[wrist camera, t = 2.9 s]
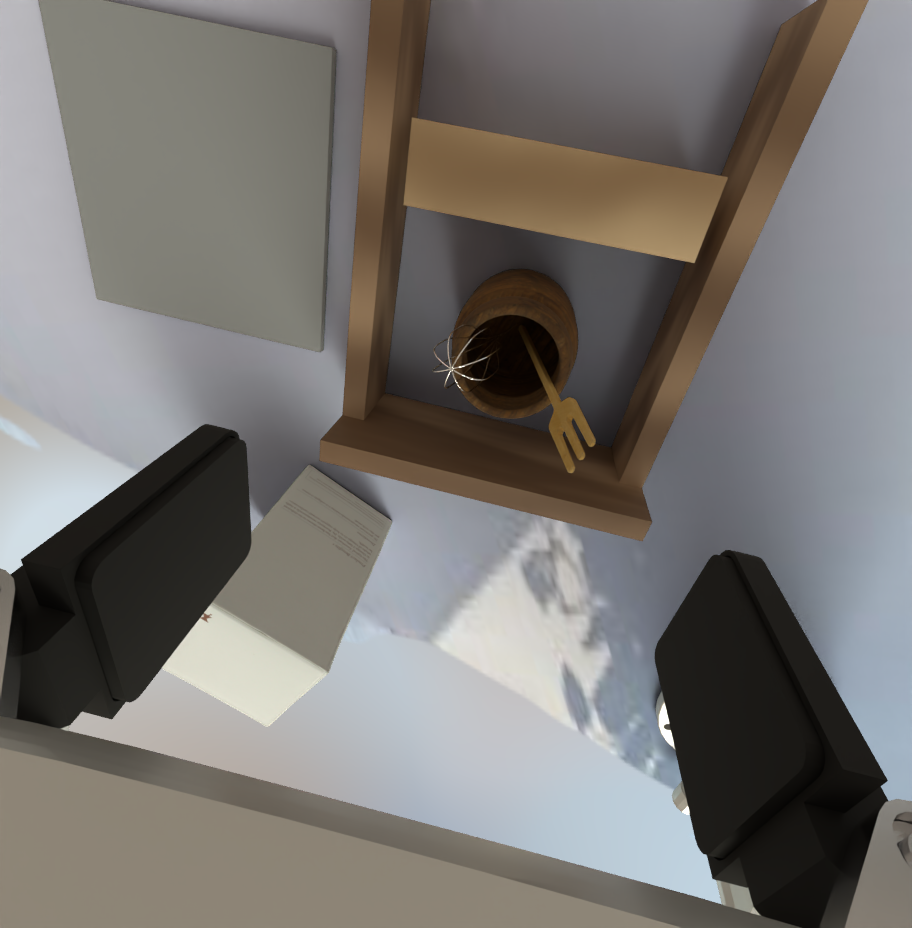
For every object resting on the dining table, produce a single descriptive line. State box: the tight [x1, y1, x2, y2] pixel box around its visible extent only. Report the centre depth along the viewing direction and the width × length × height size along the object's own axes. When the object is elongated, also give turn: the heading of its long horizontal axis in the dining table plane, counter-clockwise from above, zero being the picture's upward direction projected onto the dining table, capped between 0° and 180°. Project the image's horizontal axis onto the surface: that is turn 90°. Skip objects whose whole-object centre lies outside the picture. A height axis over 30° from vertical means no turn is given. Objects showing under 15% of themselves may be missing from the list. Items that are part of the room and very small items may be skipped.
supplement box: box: [162, 465, 392, 727], centre depth 30 cm, size 7×7×13 cm
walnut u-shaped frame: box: [319, 0, 868, 541], centre depth 22 cm, size 21×16×7 cm
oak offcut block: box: [403, 117, 728, 263], centre depth 21 cm, size 3×12×5 cm, turn 81°
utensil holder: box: [432, 269, 596, 473], centre depth 21 cm, size 6×6×12 cm
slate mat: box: [38, 0, 337, 352], centre depth 26 cm, size 14×14×1 cm
